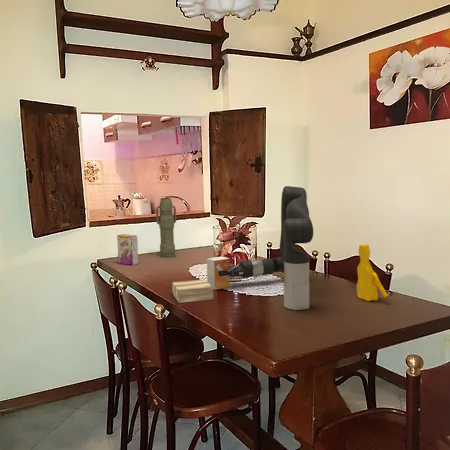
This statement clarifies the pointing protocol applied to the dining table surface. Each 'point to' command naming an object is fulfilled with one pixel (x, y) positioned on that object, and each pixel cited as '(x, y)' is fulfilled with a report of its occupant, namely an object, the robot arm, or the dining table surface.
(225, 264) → the small box
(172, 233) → the thermos
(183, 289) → the birch block
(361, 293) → the figure statuette
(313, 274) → the dining table surface
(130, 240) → the candy bar box
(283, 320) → the dining table surface
